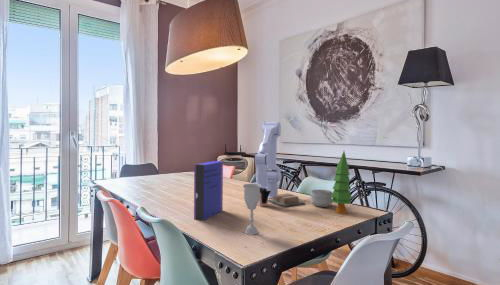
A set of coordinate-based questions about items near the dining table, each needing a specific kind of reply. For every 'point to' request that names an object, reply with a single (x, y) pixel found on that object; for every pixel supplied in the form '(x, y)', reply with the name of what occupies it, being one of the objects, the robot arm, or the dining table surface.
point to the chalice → (251, 203)
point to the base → (286, 200)
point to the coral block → (261, 202)
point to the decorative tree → (341, 186)
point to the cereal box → (208, 189)
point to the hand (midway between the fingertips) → (261, 202)
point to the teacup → (321, 197)
